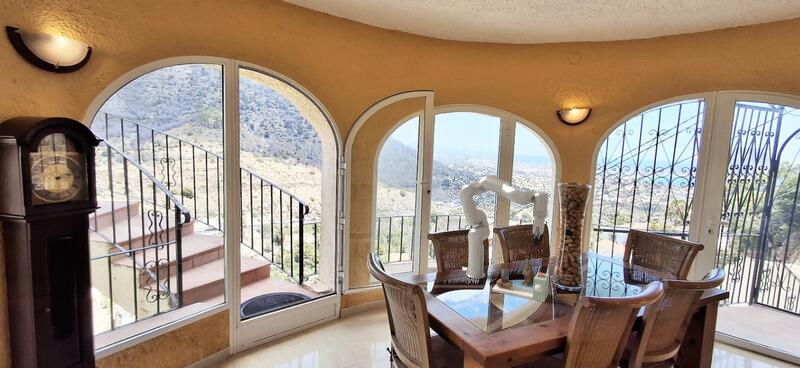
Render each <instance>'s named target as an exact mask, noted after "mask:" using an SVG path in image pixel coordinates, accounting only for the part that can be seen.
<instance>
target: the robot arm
mask: <svg viewBox="0 0 800 368" xmlns="http://www.w3.org/2000/svg"><path fill="white" fill-rule="evenodd" d="M489 191H491V192H493V193H495V194H498V195H500V196H502V197H504V198H506V199H507V200H509V201H511V202H513V203H516V204H519V205H522V206H527V205H530V204H533V205H532V208H533V209H532V217H533V221H532V232H531V233H532V234H533V235H534V236H533V246H540V244H541V243H543V242H544V241H543V238H544V236H543V235H544V231H545V219H546V218H548V216H547V215H548V205H549V204H548V203H549V195H548V193H547V192H542V191H540V192H539V191H533V190H524V191H522V190H519V189H517V188H514V187H512V186H511V185H510V183H509V182H508V181H505V180H502V179H501V178H499V177H498V176H497V175H495V174H487V175H485V176H483V177H482V178H481V180H479V181H478V180H477V181H475V182H469V183H468V182H467V183H466V184H465V185H463V186H462V188H461V189H460V190H459V199H460V202H461V207H462V211H463V214H464V219H465V222H466V223H467V225H469V226H474V227H473V228H470V230H469V231H468V233H467V238H468V239H467V240H468V261H467V262H468V264H467V266H462V268H461V269H462V271H464V272H465V276H466V275H467V276H468V278H469V277H471V278H470V279H474V278H475V280H477V279H479V280H480V279H484V278H486V273H485V272H484V258H485V256H484V255H485V247H484V241H485V240H487V239H488V238H489V237H490V235H491V230H490V226H489V221H488V219H487V214H486V213H485V211H483V209H480V208H478V207H477V203H476V202H475V198H473V197H475V196H480V195H482V194H485V193H487V192H489ZM467 276H466V277H467Z"/></svg>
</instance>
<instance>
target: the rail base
mask: <svg viewBox="0 0 800 368" xmlns="http://www.w3.org/2000/svg"><path fill="white" fill-rule="evenodd" d="M491 291H492V292H493V293H498V294H503V295H508V296H513V297H517V298H522V299H527V300H531V301H532V300H533V288H529V287H526V286H519V285H513V284H512V285H511V286H510V289H508V288H503V287H498V284H495V285H494V286H493V287H492V288H491ZM533 301H534V300H533Z"/></svg>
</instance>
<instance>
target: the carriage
mask: <svg viewBox="0 0 800 368" xmlns="http://www.w3.org/2000/svg"><path fill="white" fill-rule="evenodd" d="M509 277H510V270H509V269H507V268H501V278H499V279H498V280H497V281H496V284H498V287H503V288H508V289H510V286H511V285H513V284H514V281H512V280H510V279H509ZM496 284H495V285H496Z"/></svg>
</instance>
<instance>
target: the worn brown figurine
mask: <svg viewBox="0 0 800 368" xmlns="http://www.w3.org/2000/svg"><path fill="white" fill-rule="evenodd" d="M530 262H531V261H530V259H529V258H525V267H524V268H523V276H524V280H523V281H522V282H521V285H522V286H523V287H531V286H533V282H534V277H535V276H536V274H535V272H534V269H533V265H532V264H531V263H530Z"/></svg>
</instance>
